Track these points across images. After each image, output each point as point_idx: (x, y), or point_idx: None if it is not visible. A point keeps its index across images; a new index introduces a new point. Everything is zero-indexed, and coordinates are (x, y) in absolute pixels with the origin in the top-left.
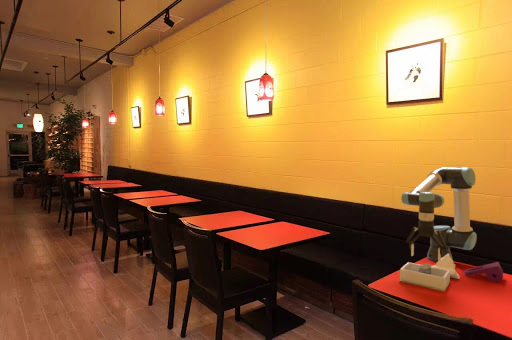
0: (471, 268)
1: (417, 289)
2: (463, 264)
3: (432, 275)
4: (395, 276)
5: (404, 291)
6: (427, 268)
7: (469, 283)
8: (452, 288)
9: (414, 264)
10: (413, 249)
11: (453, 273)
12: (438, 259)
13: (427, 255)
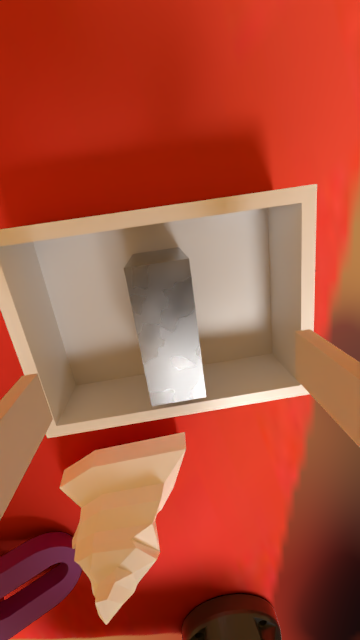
0: (58, 594)
1: (143, 130)
2: (136, 632)
3: (67, 225)
4: (319, 262)
5: (187, 2)
6: (129, 288)
7: None
8: None
9: (264, 389)
10: (333, 403)
11: (70, 469)
12: (26, 379)
13: (276, 620)
